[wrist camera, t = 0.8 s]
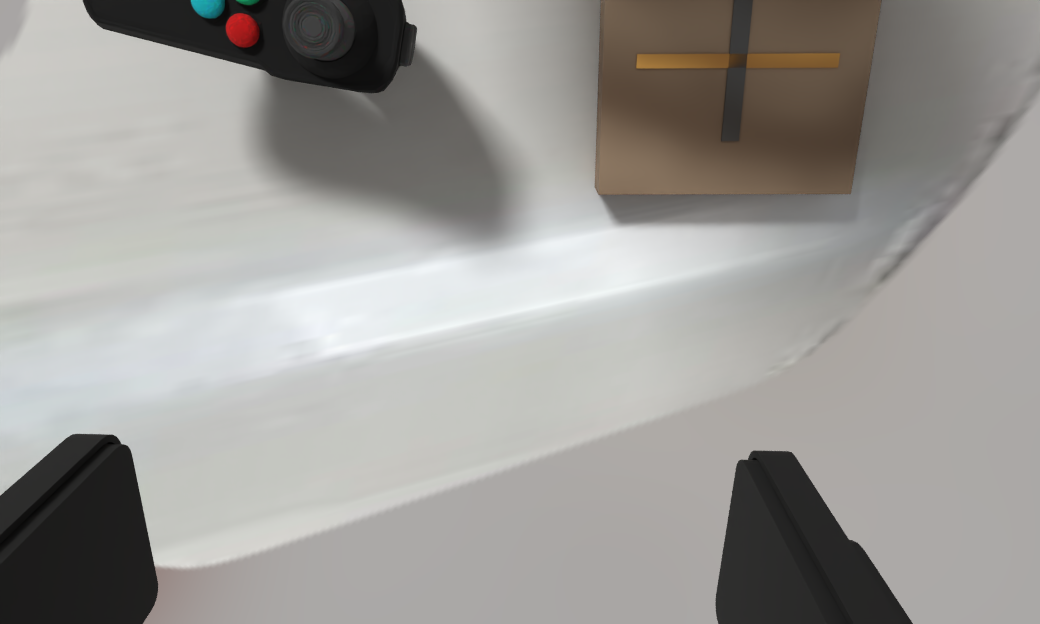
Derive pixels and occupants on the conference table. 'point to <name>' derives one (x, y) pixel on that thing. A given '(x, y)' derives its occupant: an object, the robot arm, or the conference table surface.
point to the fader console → (732, 95)
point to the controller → (278, 35)
